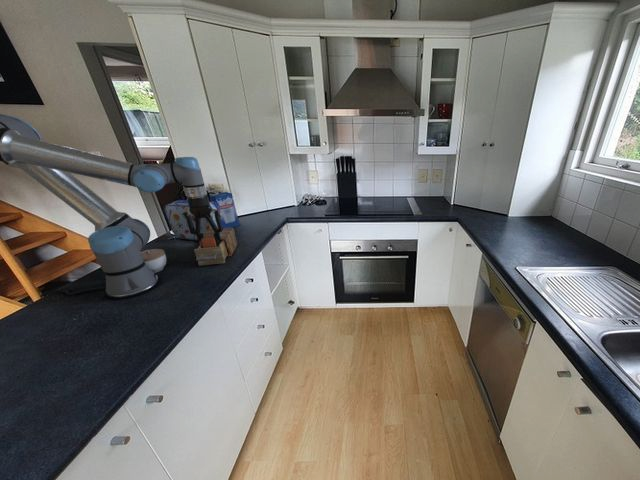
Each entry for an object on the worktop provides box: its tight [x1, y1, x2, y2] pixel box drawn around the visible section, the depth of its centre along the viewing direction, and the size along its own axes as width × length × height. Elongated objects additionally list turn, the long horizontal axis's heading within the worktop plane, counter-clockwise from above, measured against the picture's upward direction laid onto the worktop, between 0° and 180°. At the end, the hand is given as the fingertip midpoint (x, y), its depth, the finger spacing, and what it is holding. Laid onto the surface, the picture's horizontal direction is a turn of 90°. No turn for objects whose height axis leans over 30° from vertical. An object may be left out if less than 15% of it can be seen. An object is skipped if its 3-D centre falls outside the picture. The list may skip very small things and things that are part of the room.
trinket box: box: [140, 248, 167, 274], centre depth 116 cm, size 11×11×9 cm
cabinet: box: [198, 227, 238, 258], centre depth 134 cm, size 15×12×10 cm
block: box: [201, 235, 217, 248], centre depth 123 cm, size 5×5×5 cm
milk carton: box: [208, 191, 240, 228], centre depth 164 cm, size 10×6×20 cm, turn 148°
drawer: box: [193, 240, 228, 267], centre depth 124 cm, size 18×10×8 cm, turn 15°
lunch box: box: [163, 199, 224, 241], centre depth 146 cm, size 28×10×22 cm, turn 85°
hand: (211, 246), depth 124 cm, fingers closed on block, 5 cm apart
